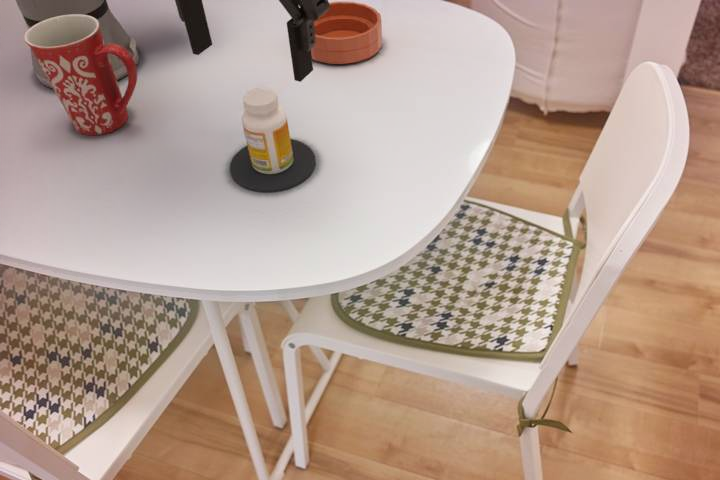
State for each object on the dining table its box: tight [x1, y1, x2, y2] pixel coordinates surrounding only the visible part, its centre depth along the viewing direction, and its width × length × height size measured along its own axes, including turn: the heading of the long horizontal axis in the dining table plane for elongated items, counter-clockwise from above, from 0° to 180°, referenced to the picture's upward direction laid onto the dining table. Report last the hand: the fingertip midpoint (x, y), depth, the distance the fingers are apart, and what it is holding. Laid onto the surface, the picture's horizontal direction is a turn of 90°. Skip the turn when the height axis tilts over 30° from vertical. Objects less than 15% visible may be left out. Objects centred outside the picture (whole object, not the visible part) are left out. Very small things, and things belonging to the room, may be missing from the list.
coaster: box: [229, 138, 317, 193], centre depth 79 cm, size 11×11×1 cm
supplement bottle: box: [241, 87, 293, 174], centre depth 76 cm, size 5×5×10 cm
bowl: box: [311, 1, 383, 65], centre depth 99 cm, size 13×13×4 cm
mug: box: [23, 14, 138, 136], centre depth 81 cm, size 13×9×14 cm
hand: (252, 62), depth 69 cm, fingers open, 13 cm apart
